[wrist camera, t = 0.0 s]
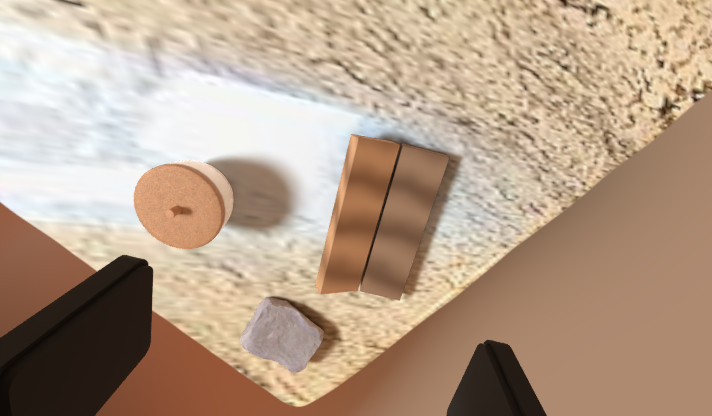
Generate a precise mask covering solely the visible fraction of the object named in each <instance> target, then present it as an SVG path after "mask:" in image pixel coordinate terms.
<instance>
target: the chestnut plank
mask: <svg viewBox="0 0 712 416" xmlns="http://www.w3.org/2000/svg"><path fill="white" fill-rule="evenodd" d="M399 147H400V145H399V144H397V143H395V142H393V141H389V140H383V139H377V138H371V137H365V136H359V135H353V134H351V137H350V141H349V145H348V150H347V154H346V158H345V162H344V167H343V171H342V175H341V179H340V183H339V188H338V192H337V196H336V200H335V204H334V209H333V213H332V217H331V221H330V225H329V230H328V234H327V238H326V242H325V246H324V251H323V255H322V259H321V263H320V268H319V272H318V276H317V280H316V284H315V286H316V288H317V290H318V291H319V293H320V294H329V293H339V292H348V291H358V288H359V284H360V281H361V277H362V274H363V270H364V267H365V264H366V260H367V257H368V253H369V250H370V246H371V243H372V240H373V236H374V233H375V229H376V226H377V223H378V219H379V216H380V212H381V209H382V205H383V202H384V199H385V195H386V192H387V188H388V185H389V181H390V178H391V175H392V171H393V168H394V164H395V161H396V157H397V154H398V151H399Z"/></svg>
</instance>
